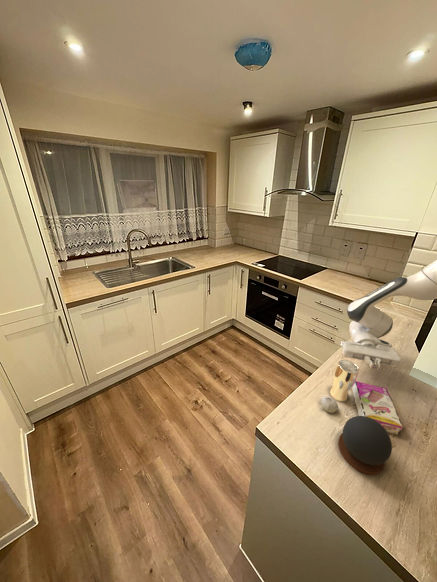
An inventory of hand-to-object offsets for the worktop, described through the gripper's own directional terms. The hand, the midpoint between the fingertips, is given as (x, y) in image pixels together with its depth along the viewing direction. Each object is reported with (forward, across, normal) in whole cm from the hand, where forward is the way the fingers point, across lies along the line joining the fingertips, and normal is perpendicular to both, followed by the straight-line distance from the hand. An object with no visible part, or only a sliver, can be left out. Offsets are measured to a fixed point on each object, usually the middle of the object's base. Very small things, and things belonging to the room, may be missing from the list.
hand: (375, 367), depth 87 cm
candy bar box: (+1, 0, +9) cm, 9 cm away
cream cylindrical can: (+7, -11, +12) cm, 18 cm away
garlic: (+14, -16, +12) cm, 24 cm away
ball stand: (+28, -8, +12) cm, 31 cm away
